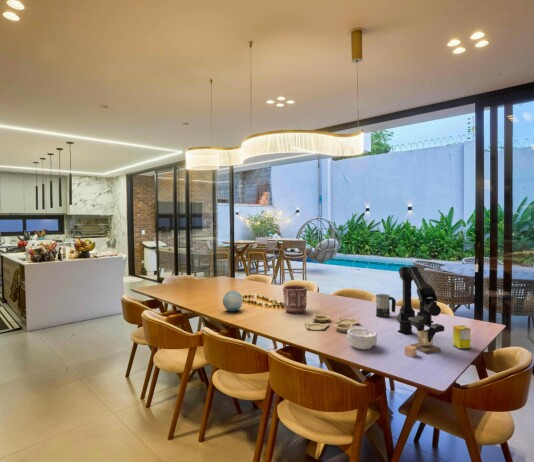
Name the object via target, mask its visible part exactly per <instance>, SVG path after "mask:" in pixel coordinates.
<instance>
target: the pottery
mask: <svg viewBox="0 0 534 462" xmlns="http://www.w3.org/2000/svg"><path fill="white" fill-rule="evenodd" d="M282 292H283V293H282V294H283V307H284V309H285V310H286V313H289V314H293V315H295V314H302V313H304V312H305V311H306V309H307V292H308V288H307V286H304V285H295V284H294V285H285V286H283V287H282Z"/></svg>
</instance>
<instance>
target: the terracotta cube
mask: <svg viewBox="0 0 534 462" xmlns="http://www.w3.org/2000/svg"><path fill="white" fill-rule="evenodd" d="M417 351H418V350H417V347H414V346H411V344H408V345H406V346H404V355H405V356H408V357H411V358H414V357H416V356H417Z"/></svg>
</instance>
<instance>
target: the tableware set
mask: <svg viewBox="0 0 534 462" xmlns="http://www.w3.org/2000/svg"><path fill="white" fill-rule="evenodd" d="M311 319H312V320H315V321H316V322H315V323H314V322H313V323H311V322H304V323H303V324H304V325H305V327H304V328H306V329H307V330H310V331H322V330H326V329H327V327H329V326H330V323H327V321H328V320H330V319H331V316H329V315H325V314H317V313H316V312H314V313H313V316H311ZM322 323H325V324H322ZM357 324H358V325H360V324H361V322H360V321H358V320H357V319H356V317H352V318H341V317H338V318H337V319H336V321H335V324H334V325H333V326H334V328H335V329H337V330H338V331H339V332H341V333H347V331H348V330H349V329H352V328H355V327H354V326H355V325H357Z"/></svg>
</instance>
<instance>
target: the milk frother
mask: <svg viewBox="0 0 534 462" xmlns="http://www.w3.org/2000/svg"><path fill="white" fill-rule="evenodd" d="M375 296H376V297H375V300H376V302H375V303H376V305H375V308H376V311H375V316H376V317H377V318H381V319H382V318H383V319H385V318H387V319H388V318H389V317H390V314H391V313H390V311H391V312H392V313H396V306H397V305H396V303H397V302H396V299H395V298H394V297H393V296H390V295H389V294H385V293H379V294H378V293H377V294H375ZM390 301H391V306H390ZM390 307H391V310H390Z"/></svg>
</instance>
